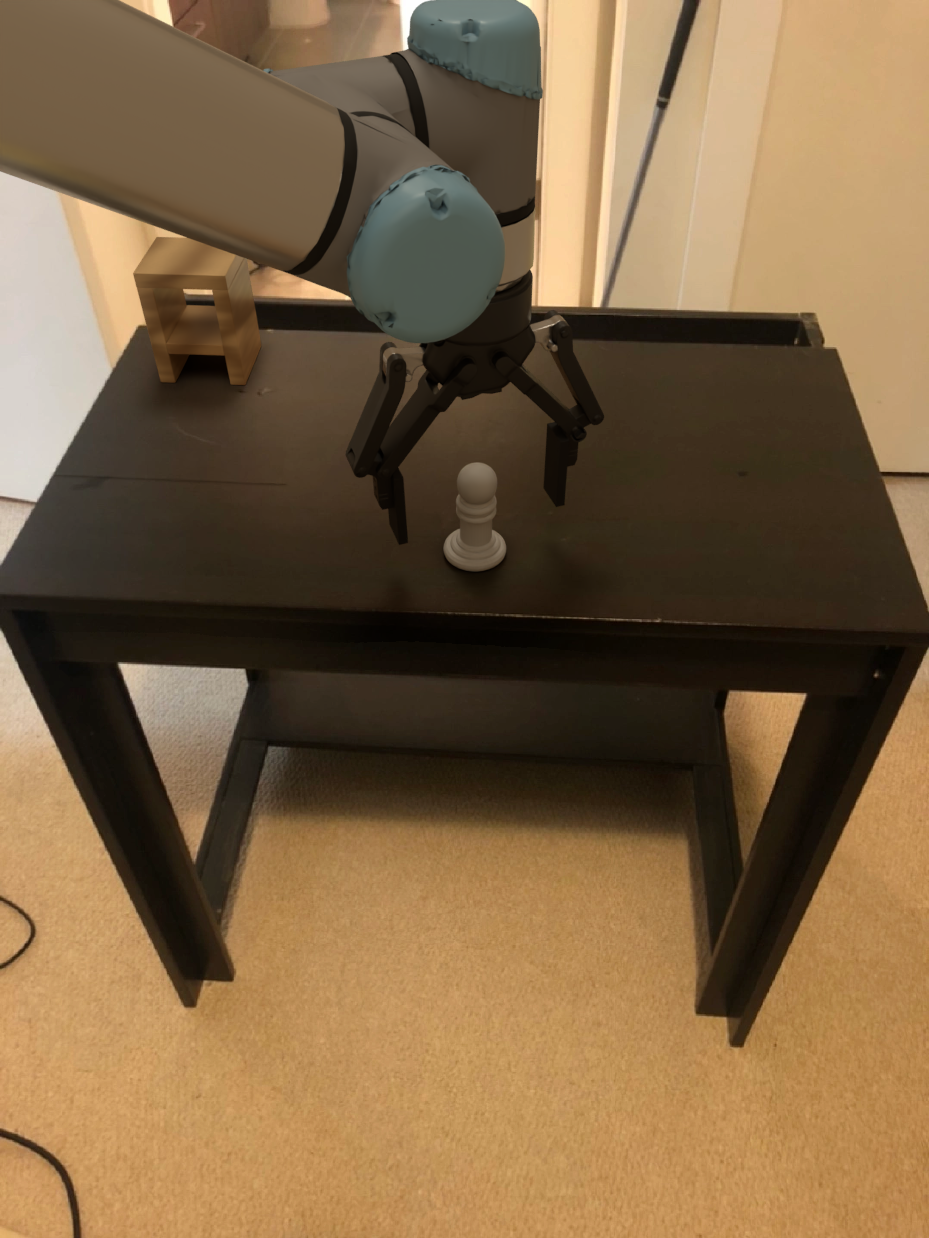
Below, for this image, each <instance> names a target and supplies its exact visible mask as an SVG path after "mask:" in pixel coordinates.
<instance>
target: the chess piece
mask: <svg viewBox="0 0 929 1238" xmlns="http://www.w3.org/2000/svg"><path fill="white" fill-rule="evenodd" d="M456 489H457V493H458V495H457V496H456V499H455V505H456V507H455V513H456V516H457V518H458V519H459V528H457V529H456V530H454V531H452V532H451V533H450V534H448V536H447V537H446V539H445V541H444V543H443V549H442V550H443V554H444V556H445V558H446V560H447V561H448V562H449V564H451V565H452V566H454V567H455V568H457V569H459V570H463V571H466V572H484V571H487V570H490V569H493V568H495V567H496V566H498V565H499V564H500V563H501V562H502V561H503V560H504V558H505V556H506V553H507V545H506V541H505V539H504V538H503V536H502V535H501V534H500V533H498V531H496V530H494V529H493V519H494V518H495V517H496V514H497V511H498V510H497V504H498V501H497V497H496V492H497V489H498V477H497V474H496V471H494V469H493V468H492V467H491V466H490V465H488V464H486V463H484V462H471V463H467V464H466V465H465V466H463V467H462V468H461V469H460V471H459V472H458V475H457V478H456Z"/></svg>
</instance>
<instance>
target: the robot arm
mask: <svg viewBox="0 0 929 1238" xmlns="http://www.w3.org/2000/svg"><path fill="white" fill-rule="evenodd" d="M538 20H539V19H538V18H537V15H536V14H535V13H534V11H533V10H532V9H531V8H530V7H529V6H527V5H526V4H524V3H522V2H521V1H518V0H426V1H423V2H422V3H420V4H419V5H417V6H416V7H415V9H414V10H413V11H412V13H411V16H410V20H409V33H408V34H409V35H407V37H406V40H407V41H406V42H407V43H406V44H407V48H406V49H404V50H399V51H394V52H390V54H383V55H379V56H372V57H364V58H356V59H350V60H343V61H335V62H329V63H322V64H321V63H320V64H313V65H307V66H300V67H291V68H285V69H278V70H277V69H276V70H274V69H272V68H271V67H269V68H264V69H261V68H258V67H257V66H255V65H253V64H251V63H249V62H246V61H245V60H242V59H240V58H238V57H236V56H234V55H232V54H230V53H228V52H226V51H224V50H222V49H220V48H218V47H215V45H212V44H210V43H208V42H206V41H203V40H202V39H199V38H197V37H195V36H194V35H191V34H189V33H187V32H186V31H183V30H181V29H179V28H177V27H175V26H173V25H171V24H168V23H167V22H164V21H162V20H161V19H158V18H156V17H154V16H152V15H150V14H148V13H146V12H144V11H142V10H140V9H138V8H136V7H134V6H132V5H130V4H128V3H126V2H124V1H122V0H0V172H1V173H4V174H6V175H9V176H12V177H14V178H18V179H20V180H23V181H26V182H29V183H32V184H35V185H37V186H40V187H42V188H46V189H48V190H52V191H54V192H57V193H60V194H62V195H66V196H68V197H71V198H73V199H77V200H79V201H82V202H85V203H88V204H90V205H94V206H96V207H99V208H102V209H104V210H108V211H111V212H113V213H116V214H119V215H122V216H125V217H127V218H131V219H133V220H136V221H139V222H143V223H145V224H148V225H150V226H153V227H156V228H159V229H161V230H164V231H167V232H170V233H173V234H176V235H179V236H181V237H183V238H189V239H192V240H195V241H198V242H201V243H204V244H206V245H209V246H212V247H215V248H218V249H221V250H223V251H226V252H229V253H232V254H235V255H237V256H240V257H243V258H246V259H247V260H249V261H252V262H255V263H257V264H261V265H263V266H266V267H268V268H271V269H274V270H278V271H279V272H283V273H286V274H289V275H291V276H294V277H296V278H298V279H300V280H301V279H302V280H304V281H307V282H309V283H312V284H315V285H317V286H320V287H323V288H326V289H329V290H331V291H333V292H337V293H339V294H342V295H344V296H346V297H348V298H350V300H351V302H352V304H353V306H354V307H355V309H356V310H357V311H358V313H359V314H360V315H362V316H364V317H365V318H366V319H367V321H370V322H371V323H374V324H375V325H376V326H377V327H378V328H379V329H380V330H381V331H382V332H384V333H385V334H386V335H388V336H390V337H392V338H394V339H396V340H399V341H403V342H406V343H411V344H419V345H418V346H412V347H411V346H410V347H399V348H398V347H397V345H396V344H395V342H392V341H386V342H384V343H383V344H382V345H381V346H380V349H379V364H378V365H379V366H378V367H379V369H378V373H377V376H376V377H375V381H374V382H373V385H372V387H371V388H372V389H371V390H370V393H369V395H368V398H367V400H366V402H365V404H364V407H363V409H362V412H361V414H360V417H359V419H358V422H357V424H356V426H355V429H354V431H353V433H352V436H351V439H350V440H349V443H348V446H347V448H346V450H345V458H346V460H347V462H348V464H349V466H350V469H351V471H352V473H353V475H354V476H355V477H356V478H357V479H363V478H365V477H367V476H371V477H372V485H373V493H374V497H375V500H376V502H377V504H378V506H379V507H380V509H381V510H382V511H384V510H387V514H388V525H389V527H390V530H391V531H392V534H393V535H394V538H395V540H396V541H397V543H398V546H400V545H405V544H408V543H409V537H408V526H407V525H408V524H407V523H408V521H407V510H406V508H407V507H406V506H407V505H406V493H405V481H404V480H405V479H404V476H403V474H402V472H401V470H400V468H399V467H400V466H401V464H402V463H403V462H404V460H405V459H406V458H407V456H408V455H409V454H410V453H411V451H412V450H413V449H414V447H415V446H416V445H417V443H418V442H419V441H420V439H422V437H423V436H424V434H425V433H426V432H427V431H428V429H429V428H430V427H431V425H432V423H433V422H434V421H435V420H436V418H437V417H438V416H439V415H440V414H441V413H445V412H447V411H448V409H449V408H450V407H451V405H452V404H453V403H454V401H455V400H456V399H457V398H460V399H461V401H465V400H469V399H473V398H475V397H477V396H479V395H484V394H485V395H486V394H487V395H488V394H489V395H492V394H498V393H502V392H503V388H505V387H507V386H508V385H509V384H510V383H511V384H512V385H513V386H514V387H515V388H516V389H517V390H519V391H520V393H522V394H523V395H525V396H526V397H527V398H528V399H530V401H532V403H533V404H534V405H536V406H537V407H538V408H539V409H540V410H542V412H543V413H544V414H546V416H548V417H549V418H550V419H551V420H552V421H553V422H548V423H546V437H545V452H544V453H545V454H544V470H543V471H544V473H543V490H544V491H545V493H546V494H547V496H548V497H549V499H550V500H551V502H552V503H553V505H554V507H555V508H559V507H562V506H565V503H566V489H567V477H568V467H573V466H575V465H576V463H577V460H578V453H579V443H581V442H582V441H584V440H585V439H586V438H587V435H588V432H587V430H586V429H585V428H586V427H587V426H590V425H593V426H599V425H600V424H601V423H603V421H604V420H605V414H604V411H603V409H602V408H601V405H600V403H599V402H598V400H597V398H596V395H595V394H594V393H595V392H594V391H593V389H592V387H591V385H590V383H589V381H588V379H587V377H586V374H585V373H584V371H583V368H582V366H581V364H580V362H579V361H578V358H577V356H576V354H575V352H574V339H573V337H574V336H573V329H572V327H571V325H569V324H568V322H567V321H566V320H565V318H564V317H563V316H561V315H560V313H559V312H558V311H557V310H554V309H552V310H548V311H547V312H546V313H545V315H544V317H543V320H541V321H538V322H534V323H531V320H532V310H533V309H532V307H533V283H534V282H533V280H534V276H533V272H532V270H531V269H532V268H533V266H534V261H535V260H534V259H535V236H536V234H535V233H536V231H535V229H536V191H537V173H538V172H537V171H538V170H537V169H538V151H539V149H538V148H539V129H540V107H541V99H543V94H544V90H543V86H542V47H541V29H540V24H539V21H538ZM536 343H537V344H539V345H540V346H541V347H542V348H543V350H544V351H546V352H549V353H550V355H551V357H552V359H553V361H554V363H555V364H556V366H557V369H558V370H559V372H560V375H561V376H562V378H563V380H564V382H565V384H566V387H567V388H568V390H569V392H570V394H571V396H572V398H573V401H574V402H575V405H574V406H572V407H570V408H569V407H568V406H567V405H566V404H565V403H564V402H562V401H561V400H560V398H559V397H557V396H556V395H555V393H553V392H552V391H551V390H550V389H549V388H548V387H547V386H546V385H545V384H544V383H543V382H542V381H541V380H540V379H538V378H537V376H535V374H533V373H532V372H531V370H529V369H528V368H527V367H526V366H525V365H524V363H525V361H526V360H527V359H528V357H529V355H530V354H531V353H532V351H533V349H534V348H535V345H536ZM422 366H423V367H424V369H425V371H424V372H423V374H422V375H421V376H420V377H419V380H418V381H417V388H416V389H415V391H414V392H413V393H412V395H411V396H410V398H409V399H408V400H407V402H406V403H405V404H404V406H403V407H402V408H401V410H400V411H399V412H398V414H397V415H396V416H395V414H396V412H397V410H398V408H399V405H400V404H401V400H402V399H403V396H404V393H405V389H406V383H410V382H411V381H412V380H413V376H414V372H415V371H416V369H418V368H419V367H422ZM439 384H440V385H441V387H440V388H439ZM394 417H395V418H394ZM393 419H394V420H393Z"/></svg>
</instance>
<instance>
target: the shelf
mask: <svg viewBox="0 0 929 1238" xmlns="http://www.w3.org/2000/svg"><path fill="white" fill-rule="evenodd" d="M248 262H249V261H248V259H246V258H243V257H240V256H237V255H235V254H232V253H229V252H226V251H223V250H221V249H218V248H215V247H212V246H209V245H206V244H204V243H201V242H198V241H195V240H192V239H189V238H187V237H179V236H178V237H173V236H156V238H154V240H153V242H152V243H151V245H150V246H149V247H148V250H146V252H145V254H144V256H143V257H142V259H141V260H140V262H139V263H138V265H137V266H136V268H135V270H133V272H132V276H133V279H134V283H135V287H136V290H137V294H138V298H139V299H138V300H139V302H140V307H141V310H142V314H143V318H144V321H145V326H146V329H147V333H148V338H149V342H150V344H151V349H152V353H153V357H154V361H155V366H156V368H157V373H158V376H159V381H160V383H170V384H171V383H172V384H175V383H176V382H177V381H178V379H179V377H180V374H181V373H182V371H183V369H184V366H185V365H186V363H187V361H188V358H189V357H190V355H191V356H192V355H193V356H195V355H197V356H224V358H225V363H226V369H227V373H228V378H229V383H230V385H232V386H233V385H234V386H246V385H247V382H248V379H249V377H250V375H251V373H252V370H253V367H254V365H255V362H256V360H257V358H258V355H259V353H260V350H261V348H262V341H261V336H260V328H259V323H258V316H257V311H256V304H255V299H254V293H253V292H254V291H253V286H252V281H251V275H250V268H249V263H248ZM184 290H198V291H199V290H200V291H201V290H203V291H211V293H212V297H213V303H214V305H197V304H196V305H194V304H187V301H186V296H185V292H184Z"/></svg>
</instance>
